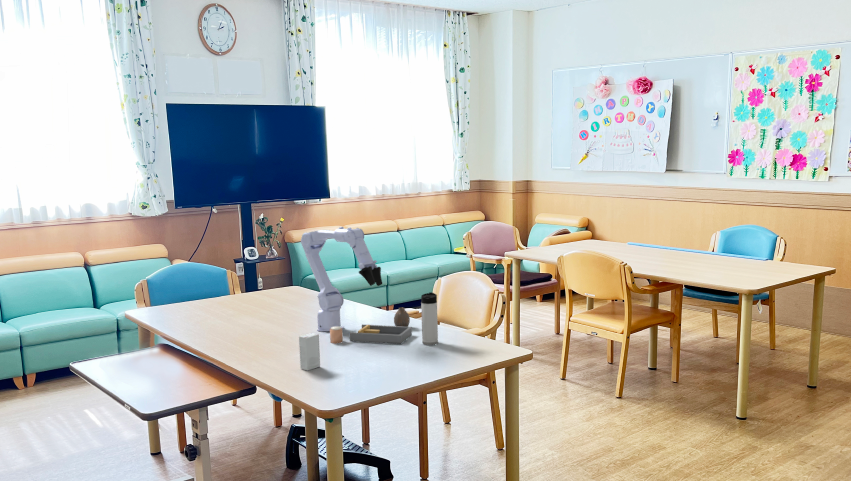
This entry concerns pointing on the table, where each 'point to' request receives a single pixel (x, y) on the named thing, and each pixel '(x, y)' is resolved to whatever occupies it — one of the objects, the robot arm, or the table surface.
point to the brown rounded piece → (401, 318)
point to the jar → (336, 335)
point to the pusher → (368, 330)
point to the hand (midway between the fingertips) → (376, 284)
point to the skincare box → (309, 351)
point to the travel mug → (429, 319)
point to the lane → (383, 334)
